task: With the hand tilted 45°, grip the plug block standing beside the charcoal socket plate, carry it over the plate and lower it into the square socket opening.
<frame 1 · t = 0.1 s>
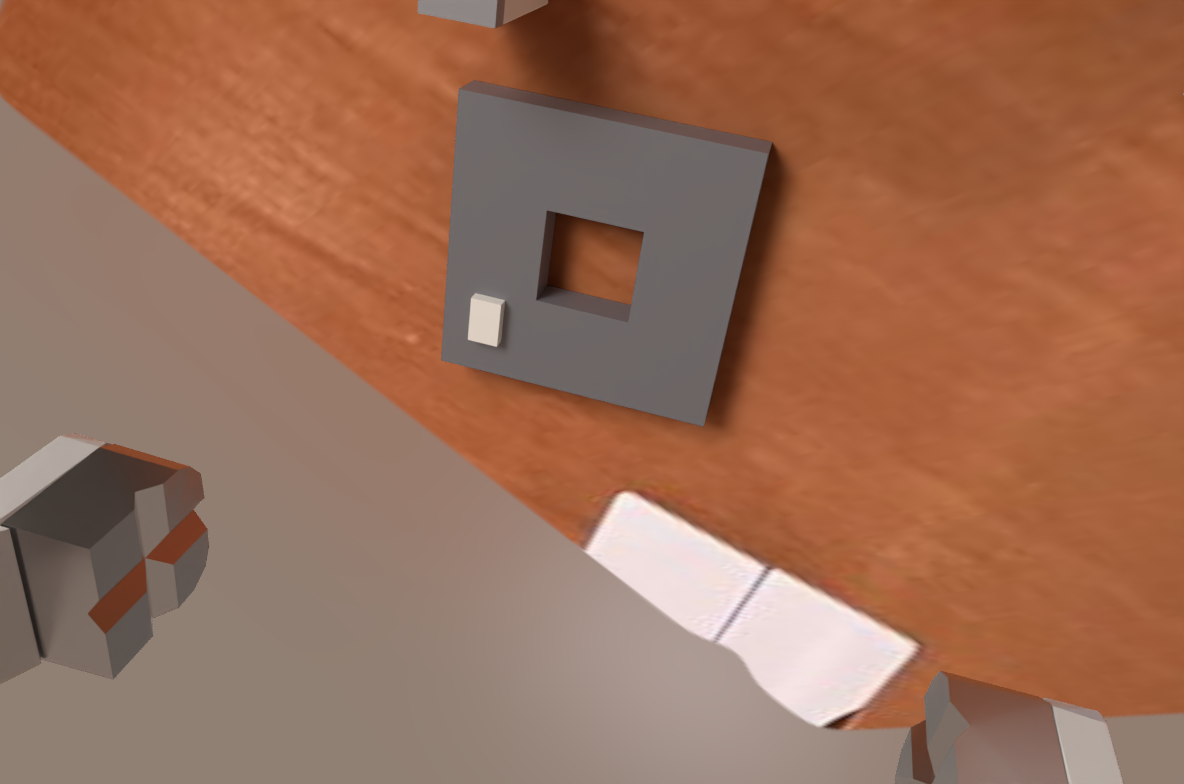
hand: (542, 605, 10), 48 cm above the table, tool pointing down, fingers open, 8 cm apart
socket plate: (598, 253, 60), on the table
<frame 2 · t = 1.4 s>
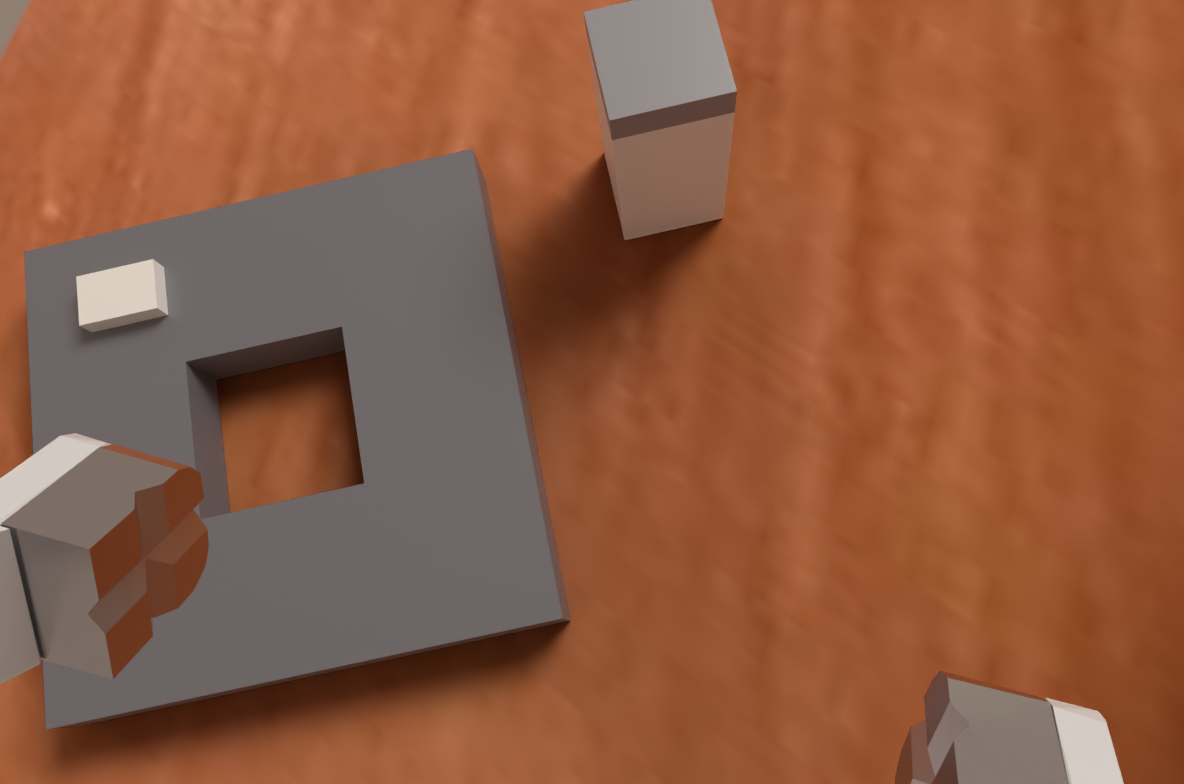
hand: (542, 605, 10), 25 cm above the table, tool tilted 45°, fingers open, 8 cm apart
socket plate: (298, 435, 37), on the table
plug: (662, 184, 39), on the table
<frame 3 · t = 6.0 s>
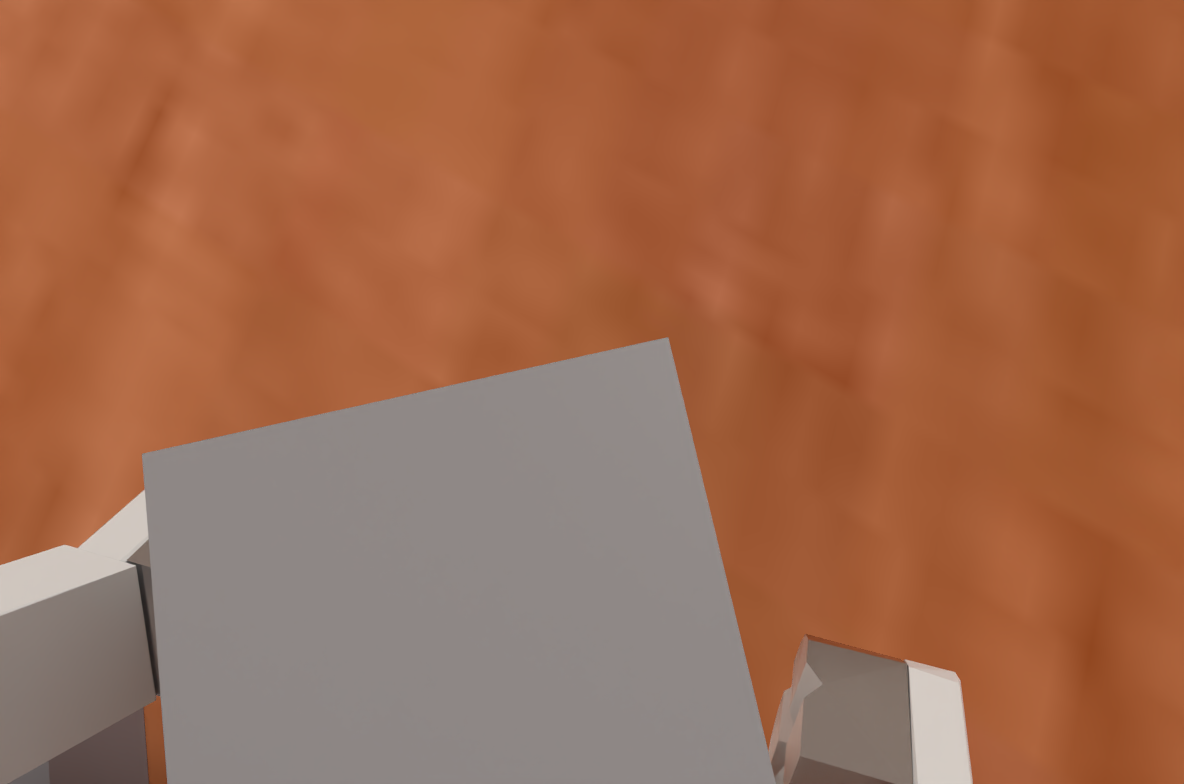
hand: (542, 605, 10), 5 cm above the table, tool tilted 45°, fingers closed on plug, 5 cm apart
plug: (574, 661, 15), on the table, touching gripper
when the fingers open (7 cm above the table, at t = 12.0 s): plug drops 1 cm, resting in socket plate.
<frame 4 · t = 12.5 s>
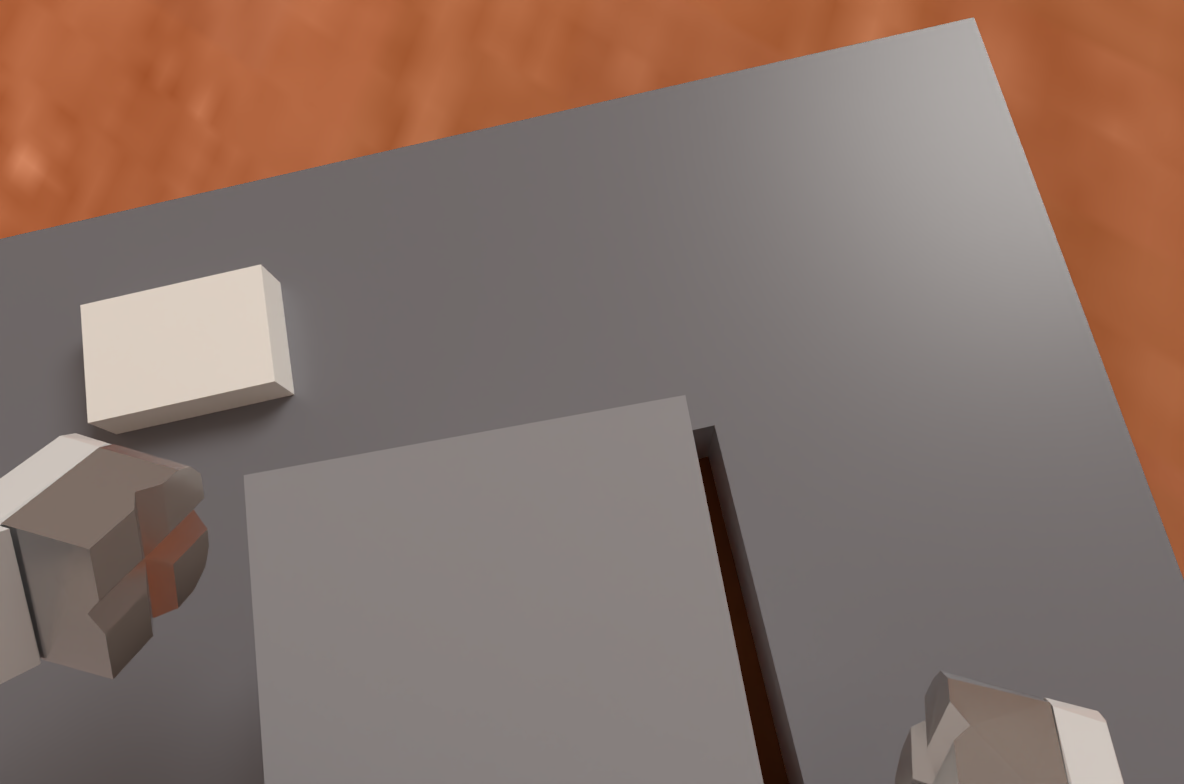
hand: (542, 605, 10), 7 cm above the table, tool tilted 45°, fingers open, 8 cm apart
socket plate: (579, 660, 17), on the table
plug: (585, 660, 17), resting in socket plate
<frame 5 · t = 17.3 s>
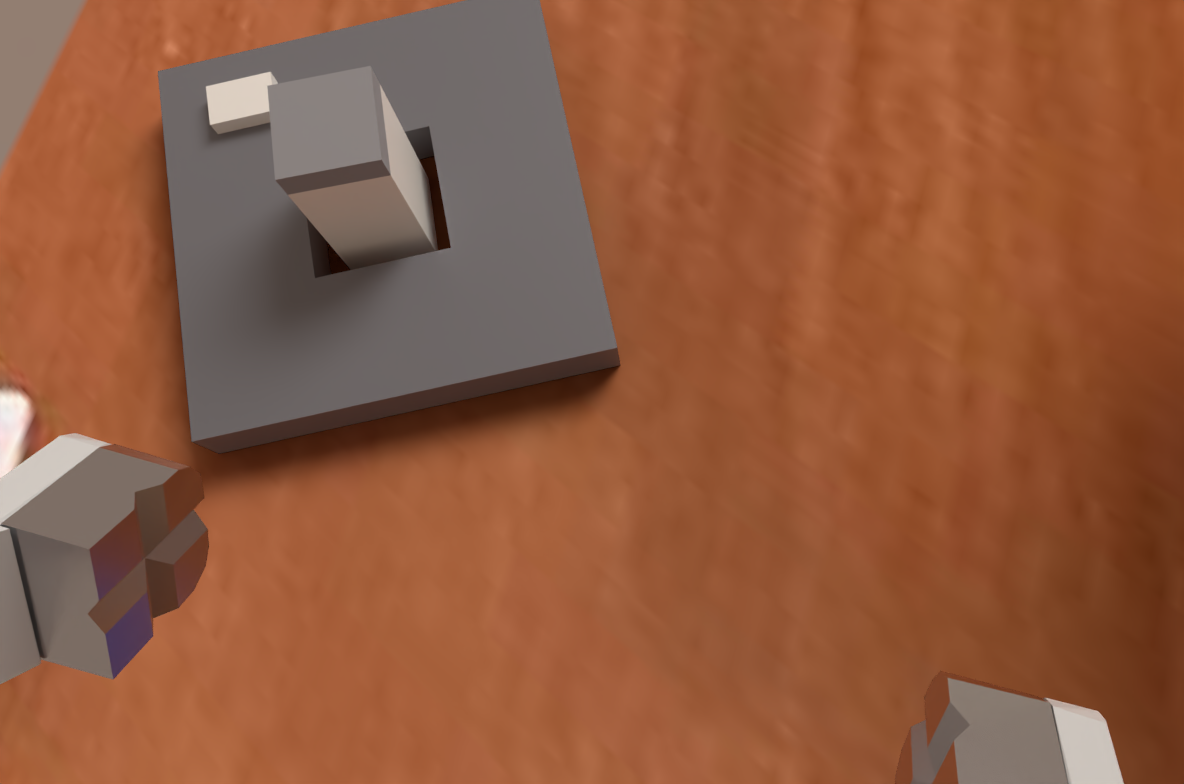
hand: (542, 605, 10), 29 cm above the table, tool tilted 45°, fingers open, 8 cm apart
socket plate: (389, 225, 44), on the table
plug: (391, 225, 44), resting in socket plate
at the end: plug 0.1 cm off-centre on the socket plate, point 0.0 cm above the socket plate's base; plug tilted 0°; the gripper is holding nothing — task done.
